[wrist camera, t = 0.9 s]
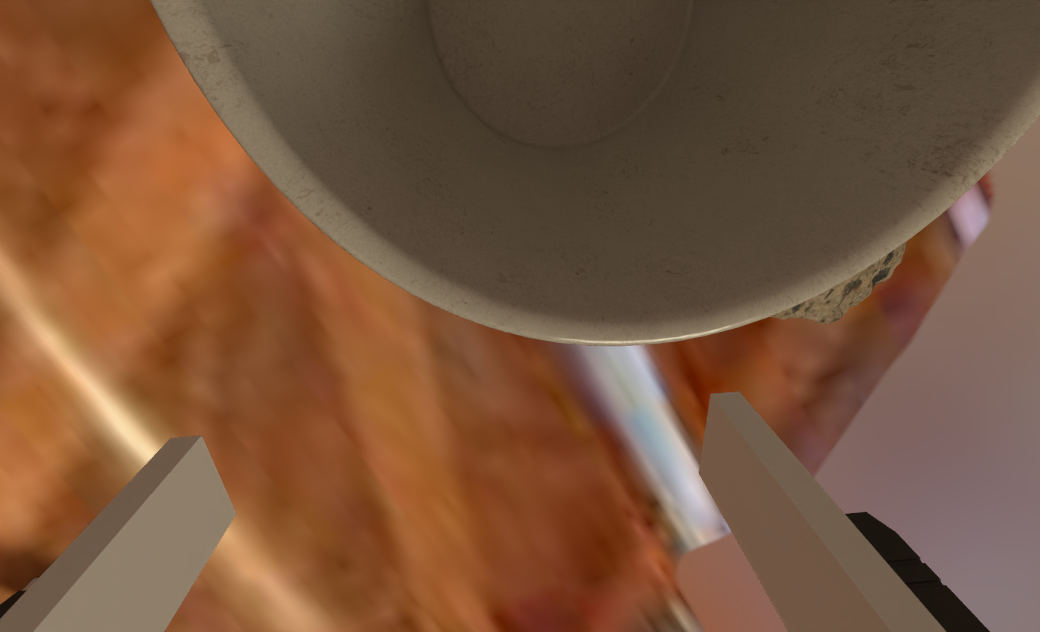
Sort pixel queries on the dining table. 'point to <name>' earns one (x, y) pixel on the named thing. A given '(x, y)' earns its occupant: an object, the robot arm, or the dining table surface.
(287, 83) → the planter
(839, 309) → the rock
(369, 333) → the dining table surface
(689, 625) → the dining table surface
